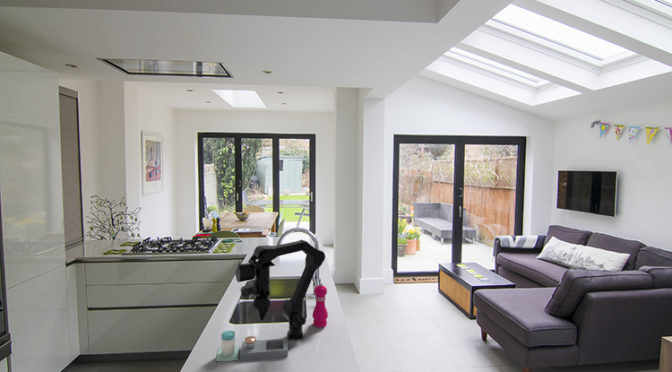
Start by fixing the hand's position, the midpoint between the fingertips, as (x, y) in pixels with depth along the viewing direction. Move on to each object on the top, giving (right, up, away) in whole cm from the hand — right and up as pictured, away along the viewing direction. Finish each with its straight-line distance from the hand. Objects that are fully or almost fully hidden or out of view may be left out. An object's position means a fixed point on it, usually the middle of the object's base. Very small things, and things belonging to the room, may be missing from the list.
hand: (262, 314), depth 144 cm
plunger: (-4, -13, -5) cm, 15 cm away
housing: (+2, -13, -4) cm, 14 cm away
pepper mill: (+23, -12, +20) cm, 33 cm away
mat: (-12, -13, -6) cm, 19 cm away
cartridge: (-12, -13, -6) cm, 19 cm away
